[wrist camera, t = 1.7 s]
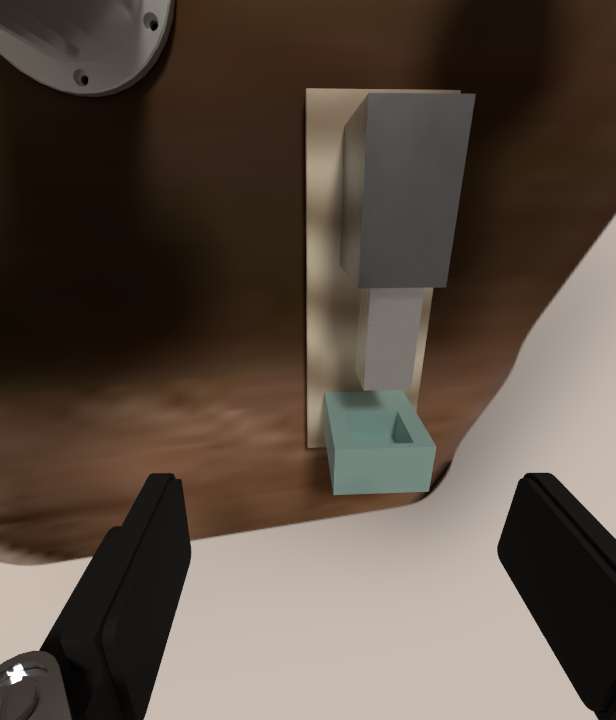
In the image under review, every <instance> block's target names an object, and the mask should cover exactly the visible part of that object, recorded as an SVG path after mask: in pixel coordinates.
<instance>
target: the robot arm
mask: <svg viewBox="0 0 616 720" xmlns="http://www.w3.org/2000/svg"><path fill="white" fill-rule="evenodd" d="M174 5H175V0H0V55H1V56H2V57H4V58H5V59H6V60H7V61H9V62H10V63H11V64H12V65H13V66H15V67H16V68H17V69H18V70H20V71H21V72H23V73H25V74H26V75H28V76H30V77H31V78H33V79H35V80H36V81H38V82H40V83H42V84H44V85H46V86H49V87H51V88H53V89H55V90H57V91H61V92H65V93H68V94H72V95H75V96H85V97H100V96H106V95H112V94H116V93H118V92H120V91H122V90H125V89H127V88H129V87H131V86H132V85H134V84H135V83H136V82H138V81H139V80H140V79H141V78H143V77H144V76H145V75H146V74H147V73H148V71H149V70H150V69H151V68H152V67H153V65H154V64H155V63H156V62H157V60H158V58H159V56H160V54H161V52H162V50H163V48H164V46H165V44H166V42H167V39H168V35H169V32H170V28H171V25H172V21H173V14H174ZM153 24H158V28H157V29H156V30H155V31H153V30H152V26H153ZM86 78H88V83H87V85H86V84H85V79H86ZM497 551H498V556H499V559H500V561H501V563H502V565H503V566H504V568H505V570H506V571H507V573H508V575H509V577H510V578H511V580H512V582H513V584H514V585H515V587H516V589H517V590H518V592H519V594H520V595H521V597H522V599H523V601H524V602H525V604H526V606H527V608H528V609H529V611H530V613H531V614H532V616H533V618H534V620H535V621H536V623H537V625H538V626H539V628H540V630H541V632H542V633H543V635H544V637H545V638H546V640H547V642H548V644H549V645H550V647H551V649H552V651H553V652H554V654H555V656H556V657H557V659H558V661H559V662H560V664H561V666H562V668H563V669H564V671H565V673H566V674H567V676H568V678H569V680H570V681H571V683H572V685H573V687H574V688H575V690H576V692H577V693H578V695H579V697H580V698H581V700H582V701H583V703H584V704H585V705H586V707H587V708H588V709H590V710H592V711H594V713H595V715H596V716H597V718H598V720H616V539H615V538H614V537H613V536H612V535H611V534H610V533H609V532H608V531H607V530H606V529H605V528H604V527H603V526H602V525H601V524H600V523H599V521H597V519H596V518H595V517H594V516H593V515H592V514H591V513H590V512H589V511H588V510H587V509H586V508H585V507H584V506H583V505H582V504H581V503H580V502H579V501H578V500H577V499H576V498H575V497H574V496H573V495H572V494H571V493H570V492H569V491H568V490H567V488H565V486H563V484H562V483H561V482H560V481H559V480H558V479H557V478H556V477H555V476H554V475H552V474H550V473H527V474H525V475H524V477H523V478H522V479H520V480H519V482H518V485H517V488H516V491H515V494H514V497H513V500H512V503H511V507H510V510H509V512H508V516H507V519H506V522H505V525H504V528H503V531H502V534H501V537H500V541H499V543H498V547H497ZM190 559H191V545H190V538H189V531H188V523H187V516H186V509H185V502H184V494H183V487H182V481H181V479H175V476H174V474H172V473H152V474H150V475H149V477H148V478H147V480H146V482H145V484H144V486H143V487H142V489H141V491H140V493H139V495H138V497H137V498H136V500H135V502H134V504H133V506H132V508H131V510H130V511H129V513H128V515H127V517H126V519H125V521H124V522H123V524H122V526H118V527H113V528H111V529H110V530H109V531H108V533H107V534H106V535H105V537H104V539H103V541H102V542H101V544H100V546H99V547H98V549H97V551H96V553H95V554H94V556H93V558H92V560H91V561H90V563H89V565H88V567H87V568H86V570H85V572H84V574H83V575H82V577H81V579H80V581H79V582H78V584H77V586H76V587H75V589H74V591H73V593H72V594H71V596H70V598H69V600H68V601H67V603H66V605H65V606H64V608H63V610H62V612H61V614H60V615H59V617H58V619H57V620H56V622H55V624H54V626H53V627H52V629H51V631H50V632H49V634H48V636H47V638H46V639H45V641H44V643H43V645H42V646H41V648H40V650H39V651H31V652H27V653H23V654H19V655H17V656H15V657H13V658H11V659H9V660H7V661H5V662H3V663H2V664H1V665H0V720H143V719H144V717H145V714H146V711H147V708H148V704H149V701H150V697H151V693H152V691H153V687H154V684H155V680H156V677H157V674H158V670H159V667H160V663H161V660H162V656H163V653H164V650H165V646H166V643H167V639H168V636H169V632H170V629H171V626H172V622H173V619H174V616H175V612H176V609H177V606H178V602H179V599H180V595H181V592H182V589H183V585H184V582H185V578H186V575H187V571H188V568H189V564H190Z"/></svg>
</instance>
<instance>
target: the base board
mask: <svg viewBox="0 0 616 720" xmlns="http://www.w3.org/2000/svg"><path fill="white" fill-rule="evenodd" d="M368 93H444V94H460V93H461V90H400V89H306V95H305V104H306V322H307V445H308V448H321V447H326V441H325V435H324V392H349V391H364V390H363V388H362V385H361V383H360V380H359V378H358V375H357V372H356V370H355V369H356V351H357V333H358V316H359V298H360V289H358V288H357V287H356V285H355V284H354V283H353V281H352V280H351V279H350V277H349V276H348V275H347V274H346V272H345V271H344V270H343V268H342V267H341V266H340V245H341V214H342V183H343V152H344V126H345V124H346V123H347V122H348V120H349V119H350V118H351V116H352V115H353V113H354V112H355V111H356V109H357V108H358V107H359V105H360V104H361V103H362V101H363V100H364V98H365V97H366V96H367V94H368ZM432 294H433V288H424V295H423V302H422V310H421V318H420V326H419V333H418V341H417V349H416V357H415V364H414V372H413V380H412V388H411V389H405V390H403V392H404V393H405V395H406V397H407V398H408V400H409V402H410V403H411V405H412V407H413V408H414V410H415V412H416V409H417V402H418V395H419V388H420V380H421V373H422V366H423V359H424V352H425V344H426V337H427V330H428V323H429V316H430V309H431V301H432ZM365 391H389V390H365Z"/></svg>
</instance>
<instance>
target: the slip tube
mask: <svg viewBox="0 0 616 720" xmlns="http://www.w3.org/2000/svg"><path fill="white" fill-rule="evenodd" d="M423 295H424V288H360V298H359V316H358V333H357V351H356V369H355V370H356V372H357V375H358V378H359V380H360V383H361V385H362V388H363V390H364V391H365V390H405V389H411V388H412V380H413V372H414V364H415V357H416V349H417V341H418V333H419V326H420V318H421V310H422V302H423Z"/></svg>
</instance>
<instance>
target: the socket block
mask: <svg viewBox="0 0 616 720" xmlns="http://www.w3.org/2000/svg"><path fill="white" fill-rule="evenodd" d="M324 435H325V441H326V448H327V455H328V462H329V468H330V475H331V482H332V489H333V495H347V494H374V493H401V492H428V491H429V487H430V481H431V475H432V469H433V464H434V458H435V452H436V445H435V444H434V442H433V440H432V439H431V437H430V435H429V434H428V432H427V430H426V429H425V427H424V425H423V424H422V422H421V420H420V418H419V417H418V415H417V413H416V412H415V410H414V408H413V407H412V405H411V403H410V402H409V400H408V398H407V397H406V395H405V393H404V392H403V390H389V391H349V392H324Z"/></svg>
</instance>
